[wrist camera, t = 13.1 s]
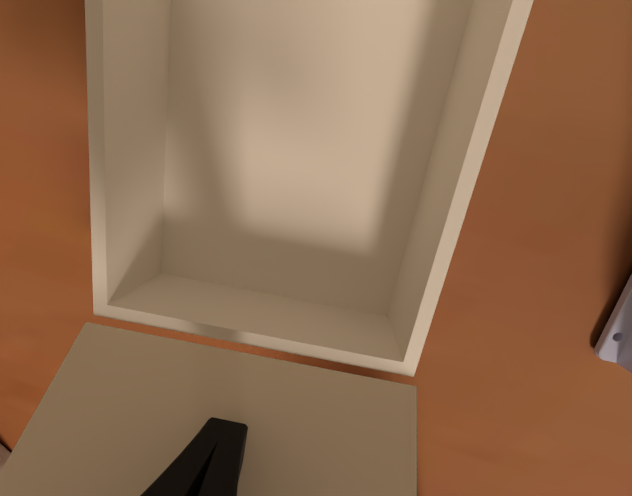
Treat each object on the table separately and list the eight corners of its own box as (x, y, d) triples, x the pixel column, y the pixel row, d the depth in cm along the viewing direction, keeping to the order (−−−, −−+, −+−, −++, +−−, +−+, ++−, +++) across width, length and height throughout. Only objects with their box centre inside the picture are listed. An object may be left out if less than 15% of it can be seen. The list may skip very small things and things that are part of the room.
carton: (393, 323, 17) (413, 377, 12) (155, 277, 17) (93, 314, 13) (518, -124, 11) (629, -303, 7) (170, -184, 12) (74, -393, 7)
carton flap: (416, 386, 12) (412, 386, 13) (85, 322, 12) (91, 324, 13) (417, 640, 9) (412, 631, 9) (-42, 546, 9) (-30, 541, 9)
